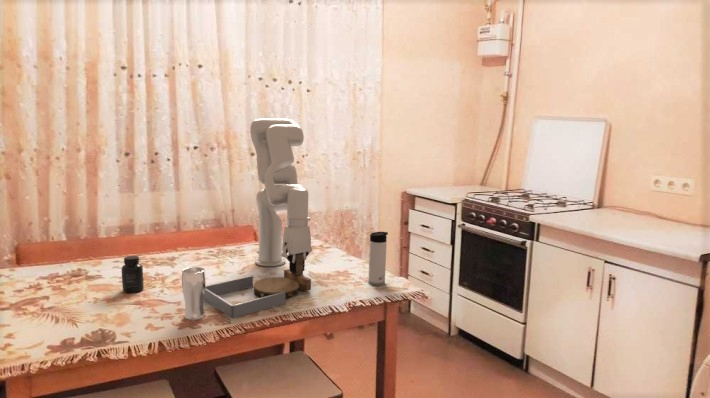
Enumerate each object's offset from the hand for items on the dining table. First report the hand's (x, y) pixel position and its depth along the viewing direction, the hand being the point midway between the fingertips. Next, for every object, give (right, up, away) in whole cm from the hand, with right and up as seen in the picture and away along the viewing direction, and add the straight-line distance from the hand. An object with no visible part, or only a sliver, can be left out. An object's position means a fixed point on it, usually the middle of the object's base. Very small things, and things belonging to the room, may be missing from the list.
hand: (297, 270), depth 188 cm
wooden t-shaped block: (0, -5, +1) cm, 5 cm away
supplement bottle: (-57, -6, -7) cm, 58 cm away
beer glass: (-29, -11, -27) cm, 41 cm away
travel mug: (+30, -6, +8) cm, 31 cm away
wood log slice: (-7, -7, -5) cm, 11 cm away
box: (-17, -8, -14) cm, 23 cm away
